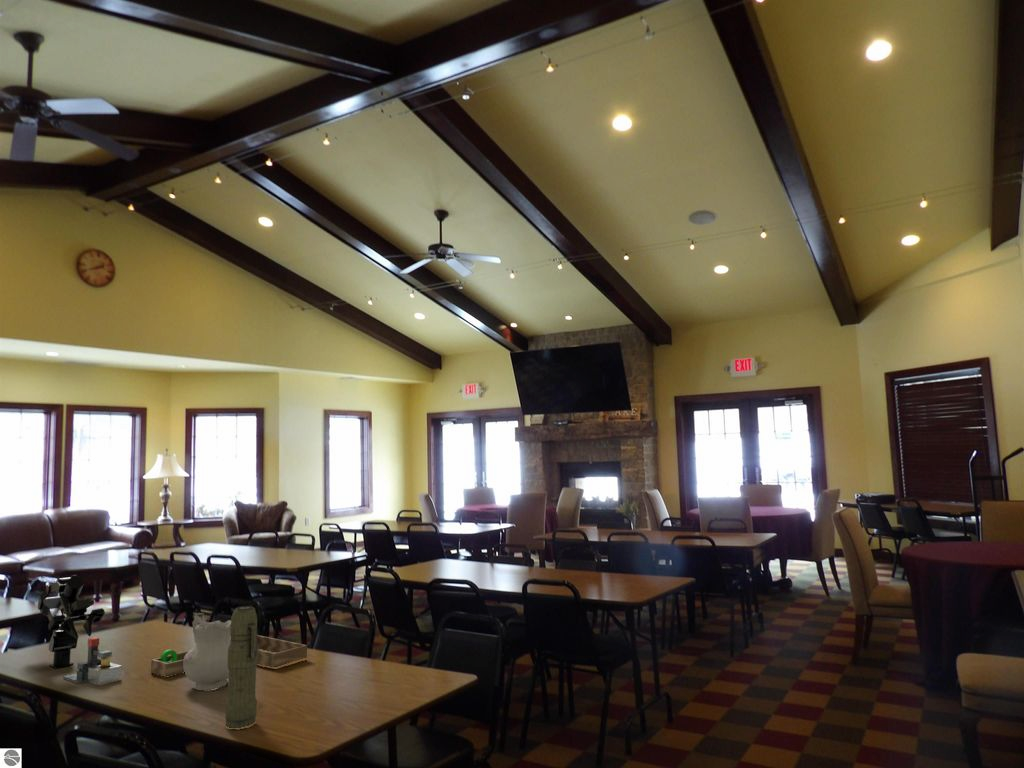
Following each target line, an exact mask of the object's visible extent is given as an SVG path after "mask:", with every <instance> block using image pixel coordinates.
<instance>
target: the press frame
mask: <svg viewBox="0 0 1024 768" xmlns="http://www.w3.org/2000/svg"><path fill="white" fill-rule="evenodd" d="M85 662H86V661H79V662H77V663H76V664H77V666H76V670H75V673H73V674H67V675H64V676H62V679H63V678H65V679H64V680H66V679H68V680H70V681H69V682H71V681H73V682H72V683H74V682H76V683H75V684H77V683H78V684H77V685H80V684H85V683H89V682H88V673H87V669H88V663H85ZM97 663H99V664H100V665H101V658H99V657H98V658H97ZM68 680H67V681H68Z"/></svg>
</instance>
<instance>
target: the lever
mask: <svg viewBox="0 0 1024 768" xmlns="http://www.w3.org/2000/svg"><path fill="white" fill-rule="evenodd" d="M99 645H100V637H96V636H94V637H90V638H89V637H88V639H87V661H84V662H85V663H88V669H89V667H94V666H98V665H100V664H99V663H97V658H102V659H103V658H108V657H110V658H111V657H112V656H113V655H112V653H113V652H112V651H111V650H103V649H99ZM88 669H87V673H88Z"/></svg>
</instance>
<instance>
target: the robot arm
mask: <svg viewBox="0 0 1024 768" xmlns="http://www.w3.org/2000/svg"><path fill="white" fill-rule="evenodd" d="M84 583H85V581H84V579H83V578H81V577H79V576H78V575H77V574H71V575H70V577H69V576H68V577H61V578H60V577H59V578H57V579H56V580H55V582H53V583H49V584H47V585H46V588H45V590H44V591H43V592H42V593H41V594H40V595H39V598H38V601H37V602H38V603H37V610H39V613H40V614H41V615H43V616H46V617H47V618H48V620H49V623H48V624H47V628H48V631H50V632H53V633H52V636H51V639H50V641H49V644H48V651H49V652H51V653H53V659H52V663H50V664H49V665H48V666H49V667H51V666H52V668H54V667H56V668H55V669H59V667H60V668H64V667H63V666H65V667H69V666H73V665H74V662H71V653H72V651H71V650H72V649H75V650H76V649H77V646H78V641H79V634H78V632H77V630H76V627H75V625H74V623H77V622H81V621H82V622H84V624H83V625H82V626H83V628H84V631H85V632H86V635H87V636H88V637H91V636H92V626H93V624H97V623H100V622H101V620H102V619H103V617H104V616H105V614H106V612H105V609H104V608H95V609H92V610H91V611H90V613H87V612H88V610H87V609H88V608H90V607H92V606H93V605H95V600H94V597H93V596H89V597H87V598H83V599H79V595H81V592H82V589H83V586H84ZM52 594H58V595H57V596H49V595H52ZM62 608H63V611H61V610H62ZM62 613H63V614H62ZM68 665H69V666H68Z"/></svg>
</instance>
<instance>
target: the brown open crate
mask: <svg viewBox="0 0 1024 768" xmlns="http://www.w3.org/2000/svg"><path fill="white" fill-rule="evenodd" d="M257 644H258V664H260V665H265V666H270V667H278V666H281V665H284V664H287V663H290V662H293V661H297V660H300V659H303V658H307V659H308V645H307V644H302V643H298V642H293V641H288V640H283V639H278V638H272V637H269V636H263V635H259V634H257ZM259 649H263V650H267V651H263V650H259ZM268 651H271V652H268ZM272 652H277V653H272Z"/></svg>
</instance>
